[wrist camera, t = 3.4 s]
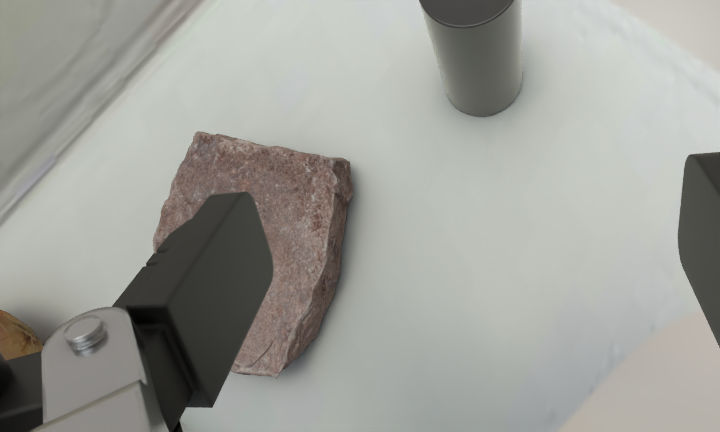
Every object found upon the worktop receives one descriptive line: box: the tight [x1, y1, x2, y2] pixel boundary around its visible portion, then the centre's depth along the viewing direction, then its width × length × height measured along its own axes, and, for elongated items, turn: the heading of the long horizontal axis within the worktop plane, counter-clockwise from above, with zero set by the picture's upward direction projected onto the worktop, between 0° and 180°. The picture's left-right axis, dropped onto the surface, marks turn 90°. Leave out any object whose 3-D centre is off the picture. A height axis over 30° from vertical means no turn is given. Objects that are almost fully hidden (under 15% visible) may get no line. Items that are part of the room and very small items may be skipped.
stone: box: [153, 131, 353, 379], centre depth 30 cm, size 12×9×5 cm
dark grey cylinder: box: [419, 0, 522, 116], centre depth 27 cm, size 4×4×9 cm
